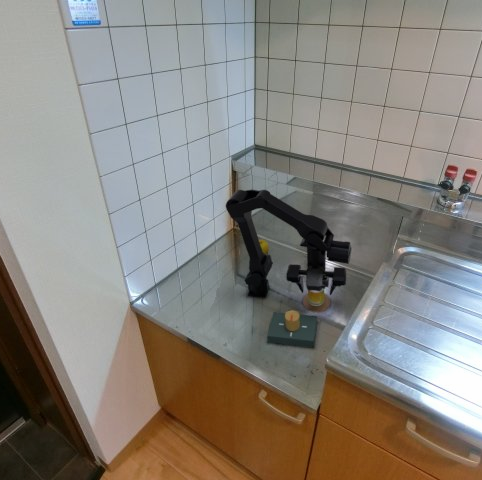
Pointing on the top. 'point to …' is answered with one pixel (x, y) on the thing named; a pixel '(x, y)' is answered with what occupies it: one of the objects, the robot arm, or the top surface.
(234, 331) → the top surface
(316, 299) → the supplement bottle
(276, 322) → the green dial base
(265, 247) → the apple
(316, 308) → the coaster
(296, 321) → the tap knob
